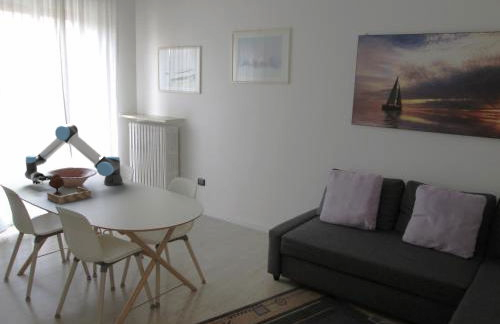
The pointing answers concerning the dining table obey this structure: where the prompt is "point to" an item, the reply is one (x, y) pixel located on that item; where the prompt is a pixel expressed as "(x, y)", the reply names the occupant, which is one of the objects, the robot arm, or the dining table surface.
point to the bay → (70, 196)
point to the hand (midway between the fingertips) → (51, 181)
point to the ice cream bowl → (56, 183)
